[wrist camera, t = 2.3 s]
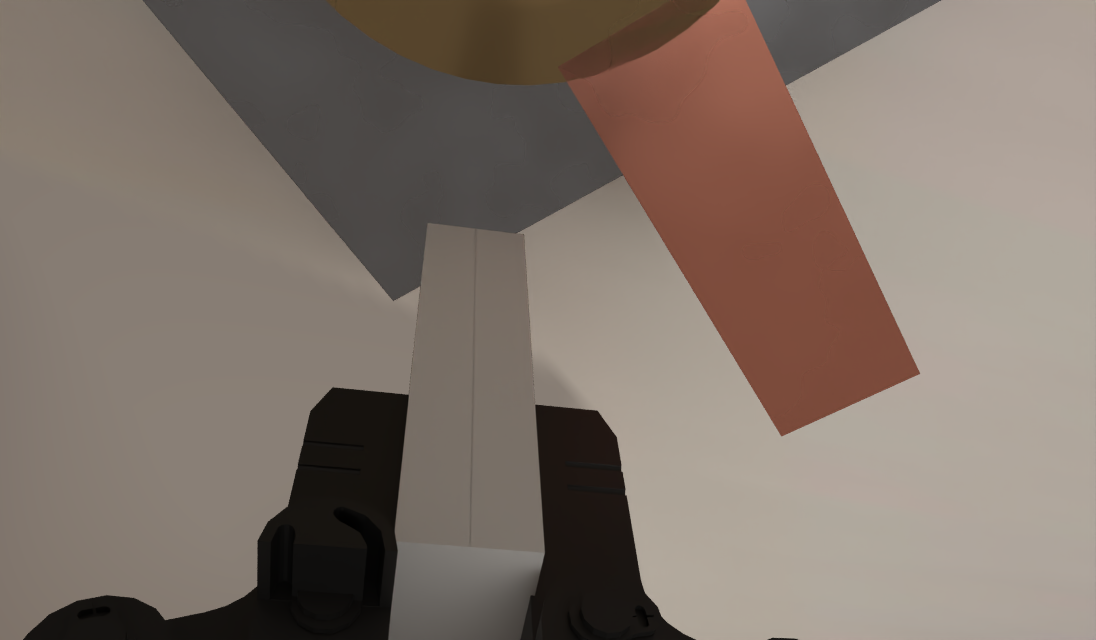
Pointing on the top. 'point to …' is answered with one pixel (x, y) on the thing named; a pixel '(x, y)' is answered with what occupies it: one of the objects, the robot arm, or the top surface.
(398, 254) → the grey plate with post
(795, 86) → the top surface
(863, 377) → the scoop with pink handle
